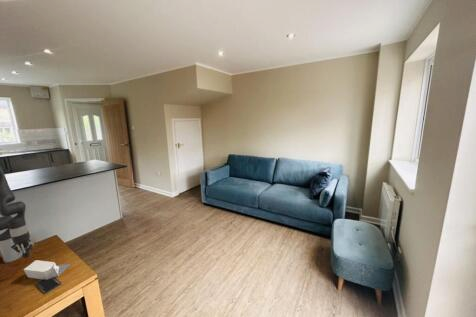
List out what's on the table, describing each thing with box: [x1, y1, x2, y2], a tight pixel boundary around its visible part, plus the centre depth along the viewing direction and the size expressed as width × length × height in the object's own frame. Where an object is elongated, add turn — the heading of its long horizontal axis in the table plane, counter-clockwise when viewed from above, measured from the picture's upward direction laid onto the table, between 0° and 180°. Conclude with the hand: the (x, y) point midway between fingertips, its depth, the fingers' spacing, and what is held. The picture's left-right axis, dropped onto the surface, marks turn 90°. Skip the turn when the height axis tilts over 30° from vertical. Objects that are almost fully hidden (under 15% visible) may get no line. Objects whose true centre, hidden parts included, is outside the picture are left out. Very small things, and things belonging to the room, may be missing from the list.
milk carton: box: [23, 259, 60, 280], centre depth 125 cm, size 7×7×19 cm
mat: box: [56, 263, 72, 276], centre depth 130 cm, size 16×10×1 cm, turn 95°
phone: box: [35, 276, 62, 294], centre depth 118 cm, size 8×1×15 cm
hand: (26, 257), depth 126 cm, fingers closed
